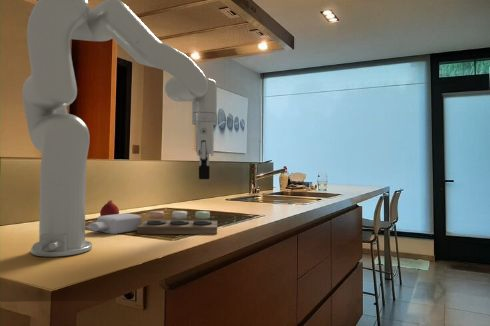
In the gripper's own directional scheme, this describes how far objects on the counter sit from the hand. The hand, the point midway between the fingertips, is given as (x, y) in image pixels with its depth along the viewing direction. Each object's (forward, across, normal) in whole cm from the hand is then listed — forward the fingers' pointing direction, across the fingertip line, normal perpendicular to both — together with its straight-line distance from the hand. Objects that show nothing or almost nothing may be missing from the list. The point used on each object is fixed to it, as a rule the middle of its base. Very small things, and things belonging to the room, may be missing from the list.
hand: (204, 178), depth 113 cm
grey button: (+12, 0, +7) cm, 14 cm away
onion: (+16, +10, +32) cm, 37 cm away
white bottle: (+16, -3, +27) cm, 32 cm away
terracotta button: (+12, 0, +14) cm, 19 cm away
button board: (+16, 0, +8) cm, 17 cm away
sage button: (+12, 0, 0) cm, 12 cm away
